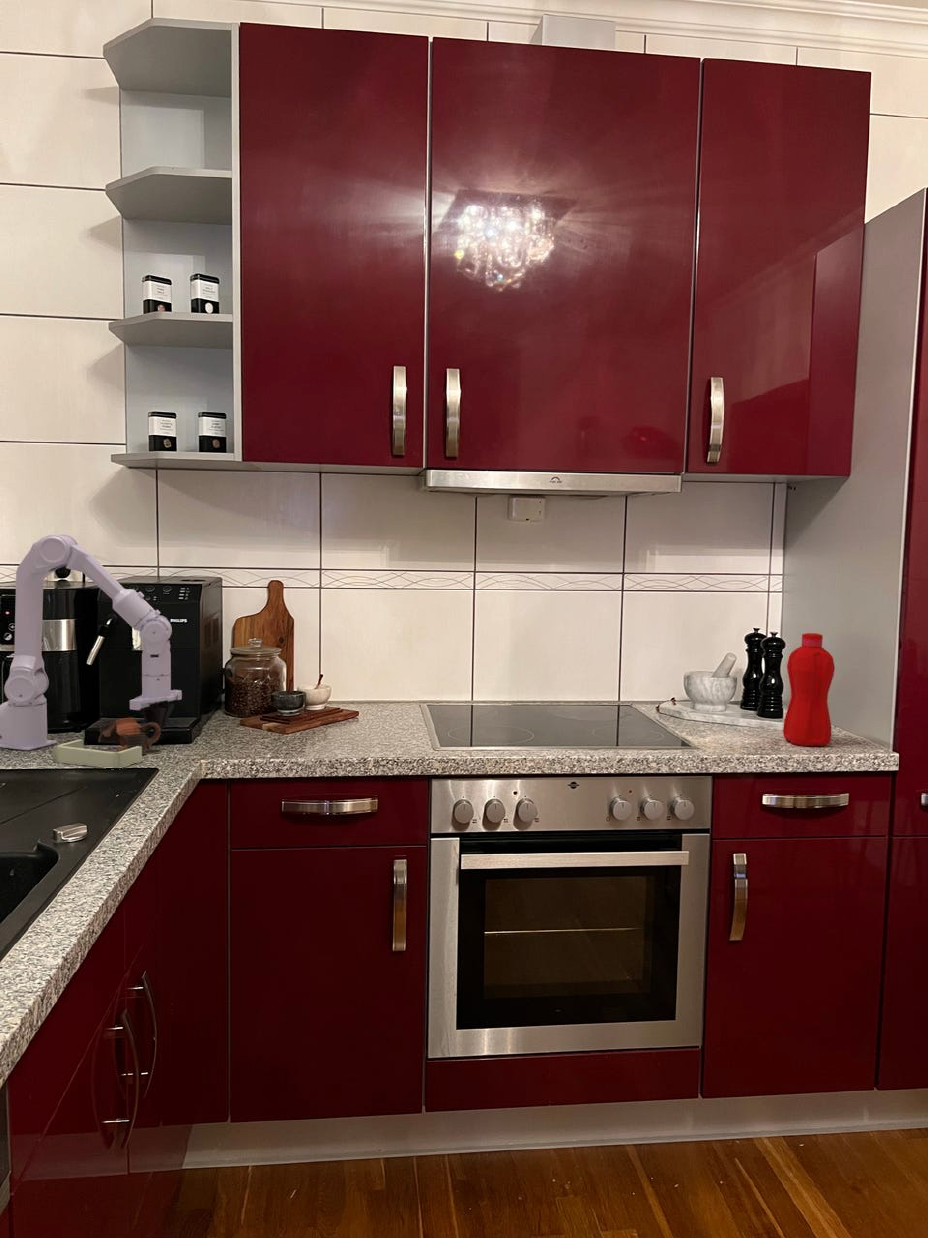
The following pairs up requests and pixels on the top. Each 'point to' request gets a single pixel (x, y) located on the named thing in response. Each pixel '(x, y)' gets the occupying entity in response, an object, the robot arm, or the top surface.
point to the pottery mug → (129, 734)
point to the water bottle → (809, 693)
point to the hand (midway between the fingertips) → (156, 738)
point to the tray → (95, 755)
